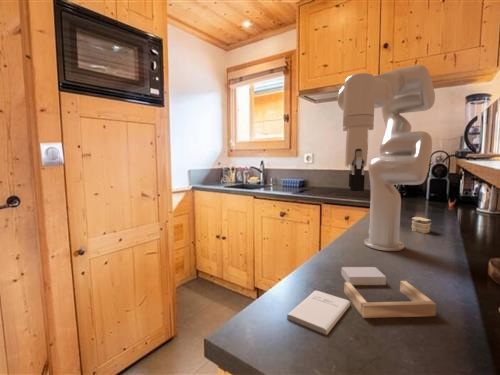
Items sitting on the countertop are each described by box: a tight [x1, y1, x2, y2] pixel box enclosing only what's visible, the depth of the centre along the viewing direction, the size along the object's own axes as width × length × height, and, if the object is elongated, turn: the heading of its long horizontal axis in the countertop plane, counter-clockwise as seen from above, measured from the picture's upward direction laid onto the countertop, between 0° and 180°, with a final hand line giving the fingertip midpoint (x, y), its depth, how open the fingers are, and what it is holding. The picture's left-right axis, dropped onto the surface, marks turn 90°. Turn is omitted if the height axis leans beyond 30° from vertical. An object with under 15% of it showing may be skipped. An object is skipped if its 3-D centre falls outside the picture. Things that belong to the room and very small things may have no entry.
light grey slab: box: [340, 266, 387, 286], centre depth 70 cm, size 6×9×2 cm, turn 89°
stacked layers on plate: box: [410, 216, 432, 234], centre depth 114 cm, size 10×9×6 cm
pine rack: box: [343, 280, 437, 319], centre depth 58 cm, size 10×14×2 cm
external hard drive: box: [286, 290, 351, 336], centre depth 56 cm, size 2×8×12 cm
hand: (355, 189), depth 73 cm, fingers open, 9 cm apart
